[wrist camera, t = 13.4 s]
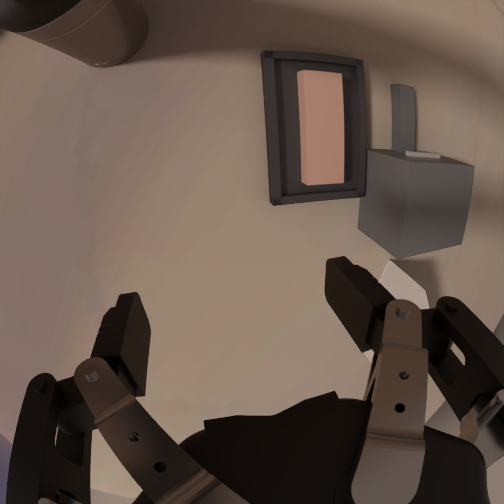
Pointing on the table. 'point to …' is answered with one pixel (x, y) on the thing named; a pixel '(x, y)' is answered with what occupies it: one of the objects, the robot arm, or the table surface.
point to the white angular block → (401, 290)
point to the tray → (288, 126)
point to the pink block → (321, 127)
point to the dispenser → (413, 190)
